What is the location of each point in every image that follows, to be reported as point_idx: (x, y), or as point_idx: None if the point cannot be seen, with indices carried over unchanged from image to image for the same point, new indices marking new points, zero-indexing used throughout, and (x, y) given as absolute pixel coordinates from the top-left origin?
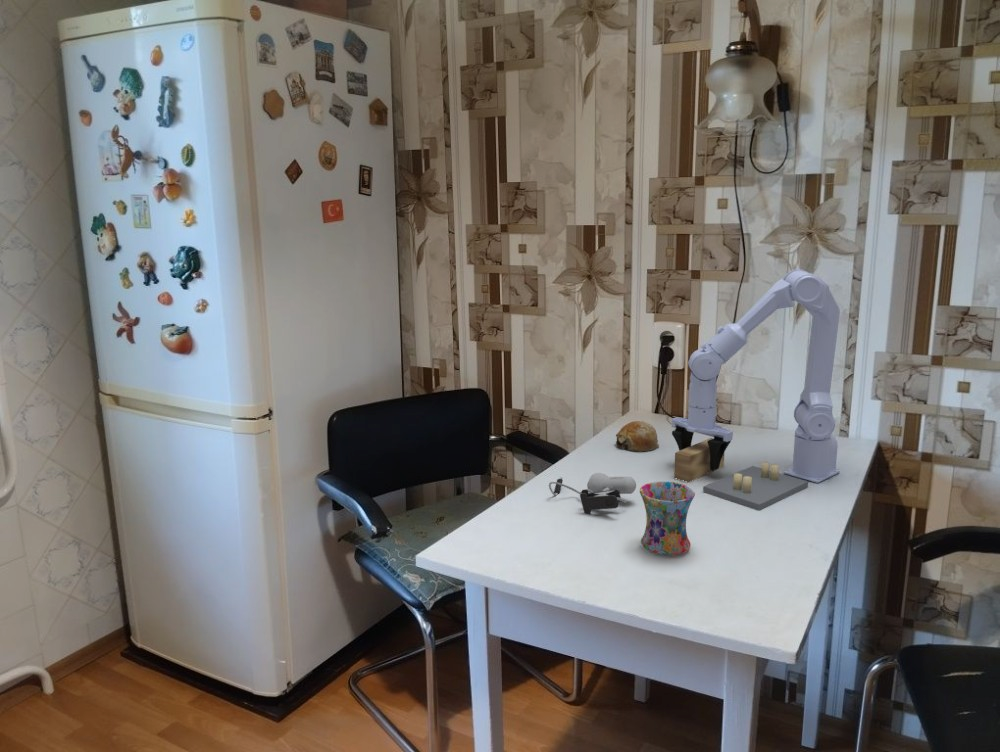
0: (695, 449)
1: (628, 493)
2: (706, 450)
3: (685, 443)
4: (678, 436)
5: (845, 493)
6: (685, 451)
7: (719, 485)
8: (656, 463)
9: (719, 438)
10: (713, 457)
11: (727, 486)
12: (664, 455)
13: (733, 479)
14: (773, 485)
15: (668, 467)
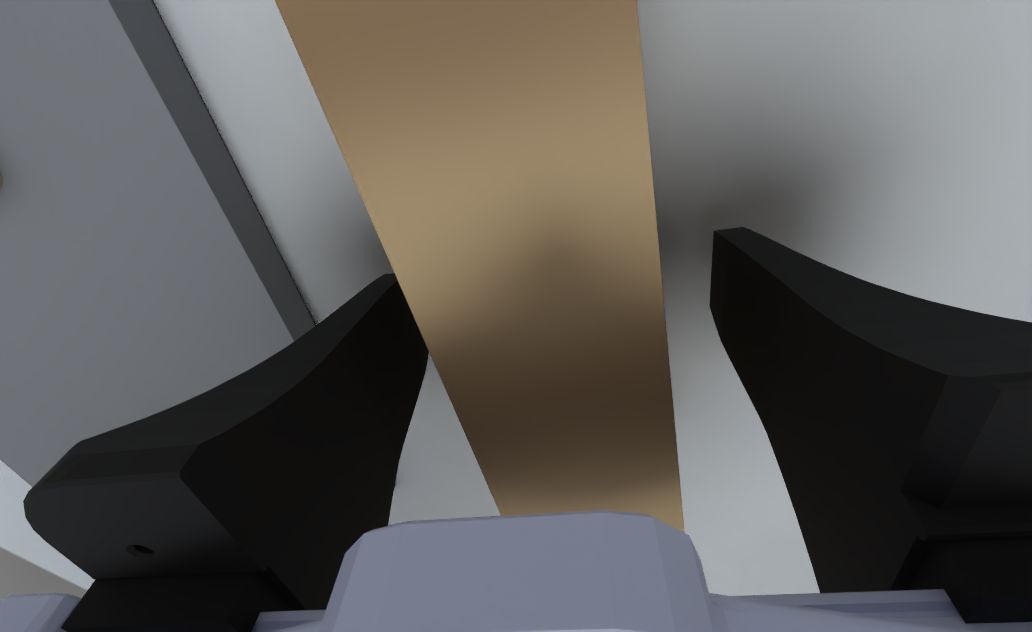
0: (524, 315)
1: None
2: (458, 401)
3: (796, 377)
4: (953, 358)
5: (11, 542)
6: (545, 126)
7: (56, 78)
8: (1013, 87)
9: (133, 615)
10: (298, 340)
11: (24, 127)
12: (1025, 297)
13: (190, 285)
14: (31, 395)
15: (836, 111)
